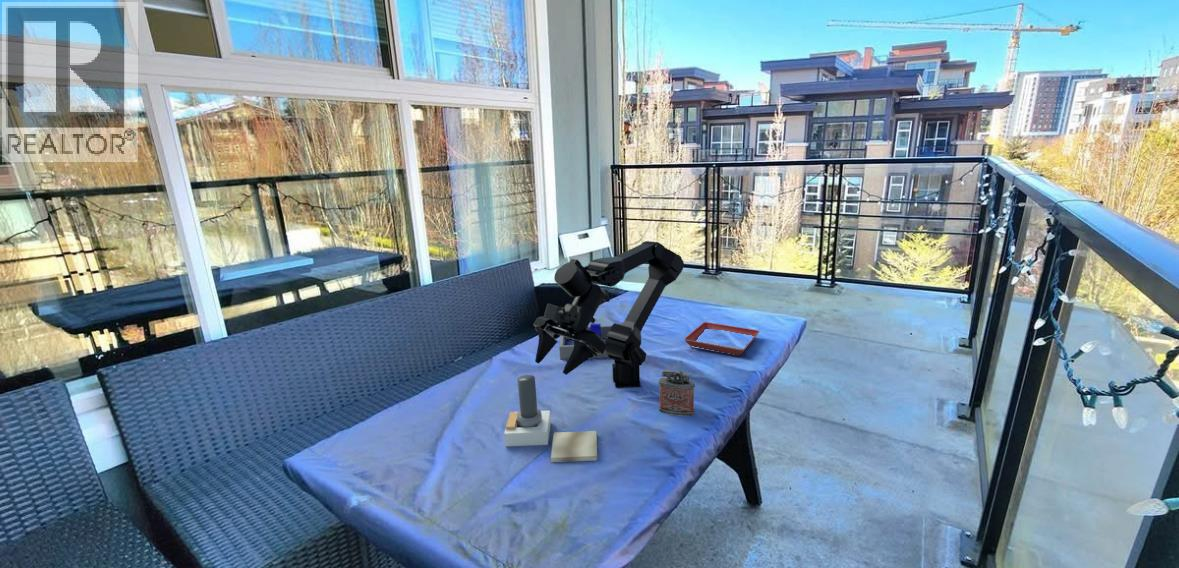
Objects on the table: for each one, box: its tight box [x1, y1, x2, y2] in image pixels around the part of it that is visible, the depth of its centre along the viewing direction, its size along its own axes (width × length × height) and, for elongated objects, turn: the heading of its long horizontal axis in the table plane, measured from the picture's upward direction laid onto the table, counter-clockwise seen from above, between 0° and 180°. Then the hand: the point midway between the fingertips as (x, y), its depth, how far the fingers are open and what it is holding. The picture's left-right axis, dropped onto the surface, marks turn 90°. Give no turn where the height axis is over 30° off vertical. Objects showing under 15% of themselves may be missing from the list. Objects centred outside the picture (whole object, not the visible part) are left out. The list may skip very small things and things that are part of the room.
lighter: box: [658, 369, 696, 417], centre depth 112 cm, size 8×3×10 cm, turn 71°
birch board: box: [550, 430, 598, 463], centre depth 101 cm, size 9×9×1 cm
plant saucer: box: [684, 321, 760, 356], centre depth 152 cm, size 18×18×3 cm
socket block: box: [503, 410, 552, 447], centre depth 106 cm, size 9×9×4 cm
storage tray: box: [558, 324, 613, 360], centre depth 153 cm, size 17×17×4 cm
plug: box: [517, 374, 542, 427], centre depth 105 cm, size 5×5×13 cm
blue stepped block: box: [589, 322, 602, 337], centre depth 153 cm, size 12×4×6 cm, turn 169°
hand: (550, 368), depth 109 cm, fingers open, 9 cm apart
